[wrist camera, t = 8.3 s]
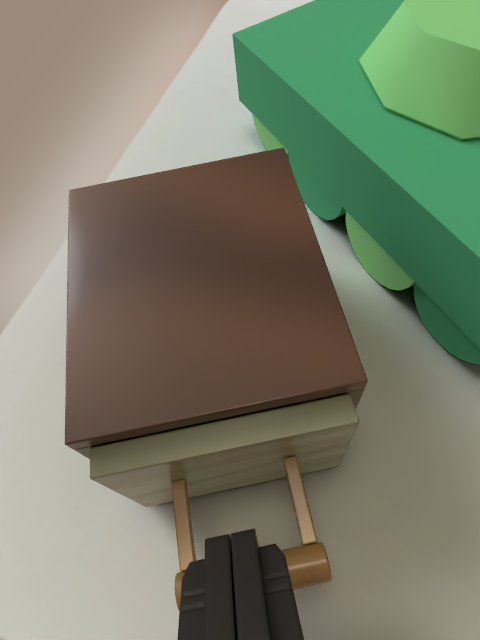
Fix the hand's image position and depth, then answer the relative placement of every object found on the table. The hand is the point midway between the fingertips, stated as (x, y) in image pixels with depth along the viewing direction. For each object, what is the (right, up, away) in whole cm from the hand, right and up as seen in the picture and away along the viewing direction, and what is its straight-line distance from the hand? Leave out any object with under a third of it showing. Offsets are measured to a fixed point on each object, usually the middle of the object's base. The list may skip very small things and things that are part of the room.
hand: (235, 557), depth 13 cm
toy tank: (+17, +14, +19) cm, 29 cm away
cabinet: (-1, +4, +15) cm, 16 cm away
